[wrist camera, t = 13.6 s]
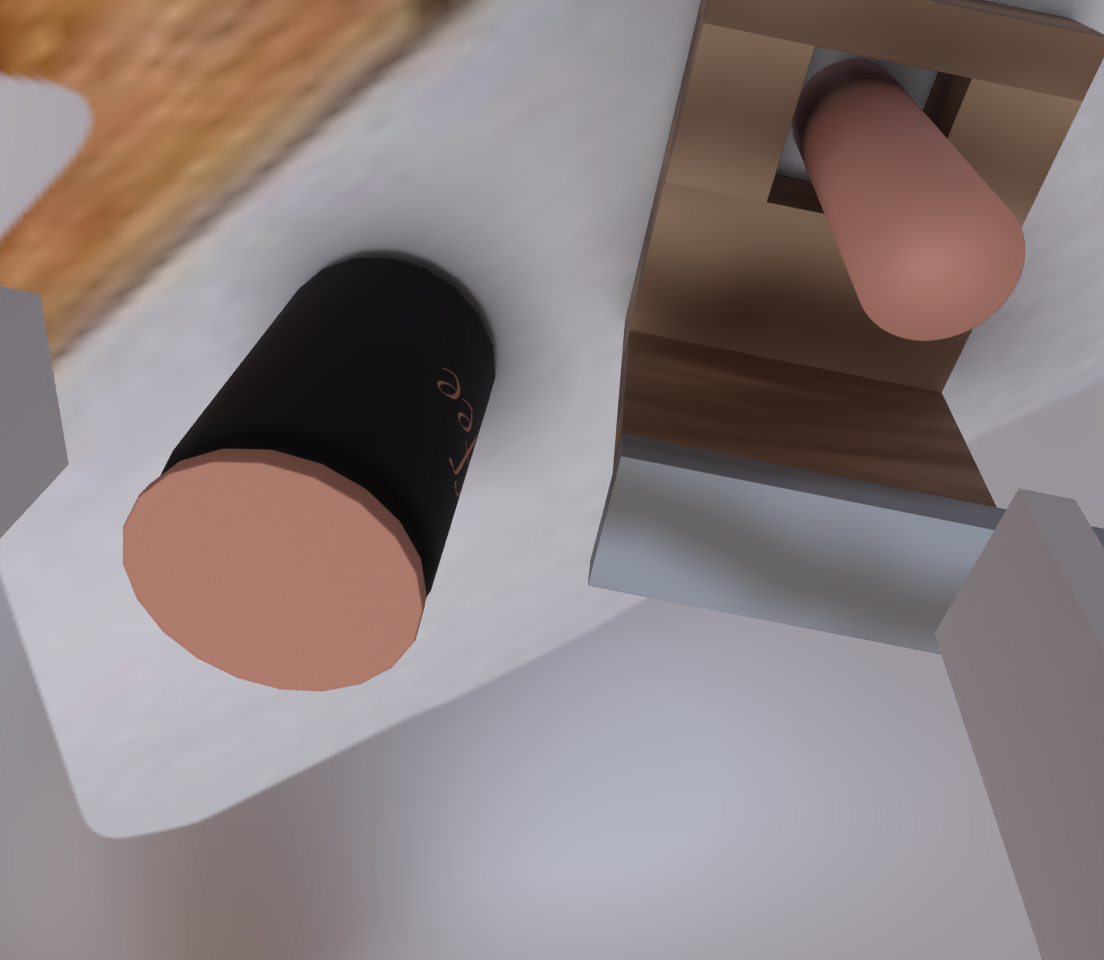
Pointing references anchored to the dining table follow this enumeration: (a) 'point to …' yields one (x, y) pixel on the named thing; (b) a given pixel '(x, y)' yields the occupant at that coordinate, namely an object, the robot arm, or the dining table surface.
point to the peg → (904, 206)
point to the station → (811, 331)
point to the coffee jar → (319, 483)
